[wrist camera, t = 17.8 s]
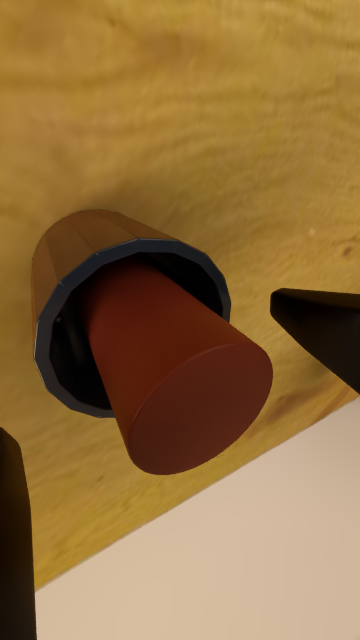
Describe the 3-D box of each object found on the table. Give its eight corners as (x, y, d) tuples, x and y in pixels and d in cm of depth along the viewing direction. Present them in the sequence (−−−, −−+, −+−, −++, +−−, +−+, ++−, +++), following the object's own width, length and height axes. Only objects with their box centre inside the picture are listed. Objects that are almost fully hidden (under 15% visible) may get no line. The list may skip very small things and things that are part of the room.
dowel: (138, 235, 13) (287, 321, 6) (146, 302, 15) (262, 431, 8) (57, 247, 12) (112, 385, 4) (78, 320, 14) (140, 501, 6)
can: (154, 202, 13) (239, 223, 8) (162, 314, 17) (224, 380, 12) (8, 215, 11) (-10, 258, 6) (53, 344, 14) (69, 446, 9)
